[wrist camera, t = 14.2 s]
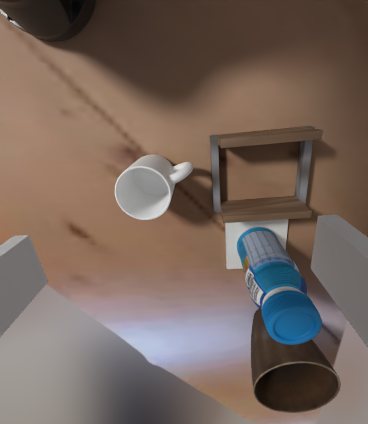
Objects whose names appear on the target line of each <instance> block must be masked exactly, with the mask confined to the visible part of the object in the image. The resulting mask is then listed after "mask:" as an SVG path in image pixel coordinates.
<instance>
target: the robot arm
mask: <svg viewBox="0 0 368 424" xmlns="http://www.w3.org/2000/svg"><path fill="white" fill-rule="evenodd" d="M95 2H96V0H0V12H1V13H2V14H3V15H4V16H5V17H6V18H7V19H8V20H9V21H10V22H11V23H13V24H14V25H15V26H17V27H18V28H20V29H21V30H23V31H25V32H27V33H29V34H31V35H33V36H35V37H37V38H40V39H43V40H48V41H62V40H66V39H69V38H71V37H73V36H74V35H76V34H77V33H79V32H80V31H81V30H82V29H83V28H84V26H85V25H86V24H87V22H88V21H89V19H90V17H91V15H92V12H93V10H94V6H95ZM310 269H311V270H312V271H313V273H314V274H315V275H316V277H317V278H318V280H319V281H320V282H321V284H322V285H323V286H324V288H325V289H326V291H327V292H328V293H329V295H330V296H331V298H332V299H333V300H334V302H335V303H336V304H337V306H338V307H339V309H340V310H341V311H342V313H343V314H344V315H345V317H346V318H347V320H348V321H349V322H350V324H351V325H352V326H353V328H354V329H355V330H356V332H357V333H358V335H359V336H360V337H361V339H362V340H363V341H364V343H365V344H366V346H367V347H368V237H367V236H365V235H364V234H363V233H361V232H360V231H359V230H357V229H356V228H355V227H353V226H352V225H350V224H349V223H348V222H346V221H345V220H344V219H342V218H341V217H340V216H338V215H322V216H318V220H317V227H316V234H315V241H314V248H313V254H312V261H311V268H310ZM47 282H48V280H47V277H46V275H45V272H44V270H43V268H42V265H41V263H40V260H39V258H38V256H37V253H36V251H35V248H34V246H33V244H32V241H31V239H30V236H29V235H23V236H13V237H12V238H10V239H9V240H7V241H6V242H5V243H3V244H2V245H0V337H1V336H2V335H3V333H4V332H5V331H6V330H7V329H8V328H9V326H10V325H11V324H12V323H13V322H14V321H15V319H16V318H17V317H18V316H19V315H20V314H21V312H22V311H23V310H24V309H25V308H26V307H27V306H28V304H29V303H30V302H31V301H32V300H33V299H34V297H35V296H36V295H37V294H38V293H39V291H40V290H41V289H42V288H43V287H44V286H45V285H46V283H47Z"/></svg>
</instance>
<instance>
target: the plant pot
mask: <svg viewBox="0 0 368 424" xmlns="http://www.w3.org/2000/svg"><path fill="white" fill-rule="evenodd" d="M251 368H252V381H253V392H254V396H255V398H256V399H257V401H258V402H259V403H260V404H262V405H263V406H265V407H267V408H269V409H271V410H274V411H279V412H286V413H299V412H306V411H311V410H314V409H317V408H320V407H322V406H324V405H326V404H327V403H329V402H330V401H332V400H333V399H334V398H335V397H336V396H337V394H338V392H339V390H340V387H341V386H340V385H341V383H340V379H339V377H338V375H337V373H336V372H335V371H334V369H333V368H332V366H331V365H330V363H329V362H328V360H327V359H326V358H325V356H324V355H323V353H322V352H321V351H320V349H319V348H318V347H317V345H316V344H315V343H314V342H313V340H312V339H311V340H309V341H307V342H304V343H301V344H295V345H288V344H283V343H280V342H277V341H275V340H274V339H273V338H272V337H271V336H270V335H269V333H268V331H267V329H266V326H265V323H264V320H263V317H262V310H261V309H260V308H259V309H258V310H257V311H256V312H255V314H254V319H253V325H252V335H251Z"/></svg>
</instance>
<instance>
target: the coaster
mask: <svg viewBox="0 0 368 424" xmlns="http://www.w3.org/2000/svg"><path fill="white" fill-rule="evenodd" d="M252 227H265V228H268V229H270V230H271V231H273V232H274V233H275V235H276V236H277V238H278V240H279V242H280V243H281V245H282V246H283V248H284V249H285V251H286V240H287V229H288V219H282V220H267V221H251V222H236V223H225V234H226V268H227V269H239V268H243V267H242V263H241V260H240V257H239V254H238V251H237V240H238V238H239V236H240V235H241V234H242V233H243V232H244V231H246V230H247V229H249V228H252Z"/></svg>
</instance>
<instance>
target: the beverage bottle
mask: <svg viewBox="0 0 368 424" xmlns="http://www.w3.org/2000/svg"><path fill="white" fill-rule="evenodd" d="M237 251H238V254H239V257H240V260H241V263H242V267H243V270H244V274H245V282H246V285H247V287H248V289H249V291H250V296H251V298H252V300H253V301H254V303H255V304H256V305H257V306H258V307H259V308H260V309H261V310H262V317H263V320H264V323H265V326H266V329H267V331H268V333H269V335H270V336H271V337H272V338H273V339H274V340H275V341H277V342H280V343H283V344H288V345H295V344H301V343H304V342H307V341H309V340H311V339H312V338H314V337H315V336H316V335H317V334H318V333H319V331H320V329H321V326H322V321H321V317H320V314H319V312H318V311H317V309H316V307H315V306H314V304H313V303H312V301H311V300H310V298H309V297H308V296H307V288H306V283H305V280H304V278H303V276H302V275H301V274H300V272H299V269H298V267H297V265H296V264H295V262H294V261H293V260H292V259H291V258H290V257H289V255H288V254H287V252H286V251H285V249H284V248H283V246H282V245H281V243H280V242H279V240H278V238H277V236H276V235H275V233H274V232H273V231H271V230H270V229H268V228H265V227H252V228H249V229H247V230H246V231H244V232H243V233H242V234H241V235H240V236H239V238H238V240H237Z"/></svg>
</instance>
